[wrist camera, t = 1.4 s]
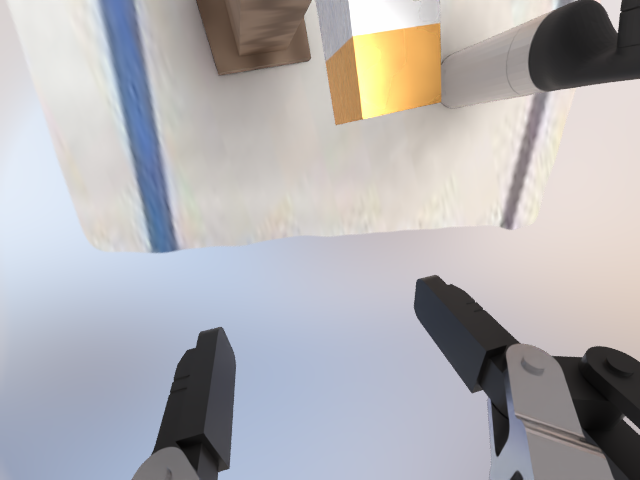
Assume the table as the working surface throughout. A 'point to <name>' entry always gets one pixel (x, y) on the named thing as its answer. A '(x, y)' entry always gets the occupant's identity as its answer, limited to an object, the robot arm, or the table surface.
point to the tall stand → (255, 33)
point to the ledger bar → (380, 55)
